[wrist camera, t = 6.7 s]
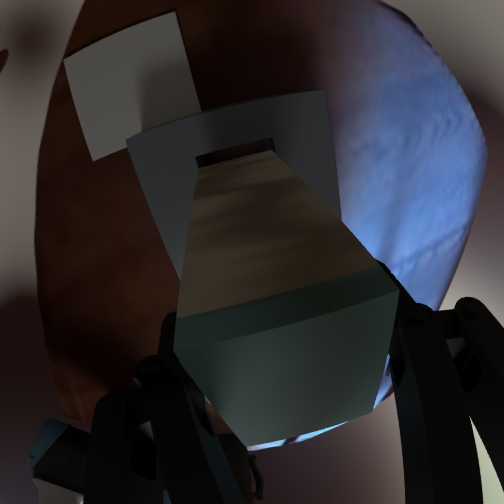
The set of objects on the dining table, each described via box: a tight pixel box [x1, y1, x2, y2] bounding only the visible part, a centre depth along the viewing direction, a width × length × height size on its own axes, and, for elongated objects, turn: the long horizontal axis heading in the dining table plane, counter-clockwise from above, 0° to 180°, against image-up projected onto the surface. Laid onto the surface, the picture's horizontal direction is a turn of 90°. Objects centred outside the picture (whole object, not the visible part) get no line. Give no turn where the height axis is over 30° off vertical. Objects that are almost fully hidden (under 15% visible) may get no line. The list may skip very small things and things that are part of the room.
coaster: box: [64, 12, 201, 161], centre depth 22 cm, size 12×12×1 cm
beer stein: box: [218, 435, 264, 504], centre depth 54 cm, size 15×11×20 cm
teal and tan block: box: [173, 150, 400, 447], centre depth 14 cm, size 5×6×15 cm
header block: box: [125, 90, 342, 281], centre depth 25 cm, size 16×14×6 cm
